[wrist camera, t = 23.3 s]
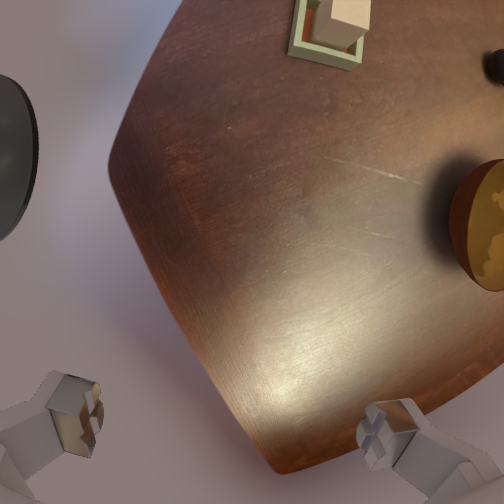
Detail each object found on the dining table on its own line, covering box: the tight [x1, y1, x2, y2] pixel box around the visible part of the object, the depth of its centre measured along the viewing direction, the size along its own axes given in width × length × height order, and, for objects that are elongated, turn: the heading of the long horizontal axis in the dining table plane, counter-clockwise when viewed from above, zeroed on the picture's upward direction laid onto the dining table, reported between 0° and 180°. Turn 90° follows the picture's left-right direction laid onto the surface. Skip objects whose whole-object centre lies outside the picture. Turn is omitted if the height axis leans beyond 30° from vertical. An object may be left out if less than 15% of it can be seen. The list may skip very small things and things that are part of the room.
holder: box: [287, 0, 364, 71], centre depth 30 cm, size 8×15×4 cm, turn 171°
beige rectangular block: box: [309, 0, 371, 52], centre depth 27 cm, size 4×5×9 cm
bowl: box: [449, 159, 504, 292], centre depth 36 cm, size 18×18×10 cm
